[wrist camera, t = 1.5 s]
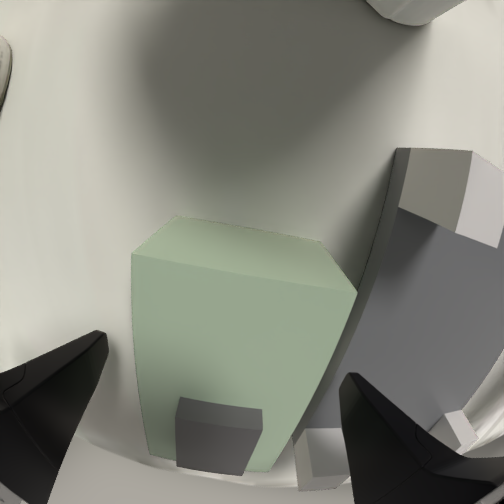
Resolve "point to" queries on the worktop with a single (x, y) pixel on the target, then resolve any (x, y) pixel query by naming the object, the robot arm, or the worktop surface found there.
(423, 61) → the worktop surface
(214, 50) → the worktop surface
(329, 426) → the chassis
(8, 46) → the spray can
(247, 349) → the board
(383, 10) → the photo printer
